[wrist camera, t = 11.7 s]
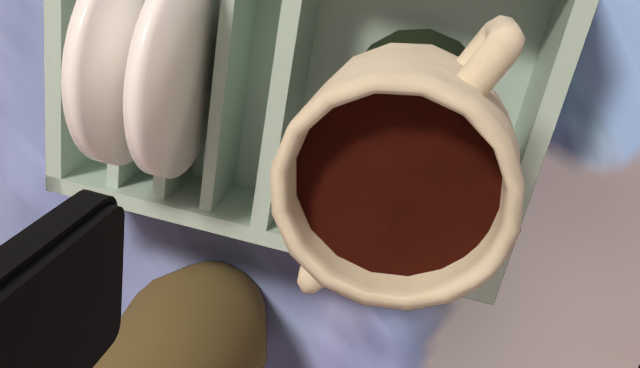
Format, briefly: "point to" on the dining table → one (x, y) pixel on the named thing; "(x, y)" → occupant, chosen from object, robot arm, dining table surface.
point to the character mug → (404, 171)
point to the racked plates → (140, 81)
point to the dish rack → (295, 92)
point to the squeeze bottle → (193, 322)
